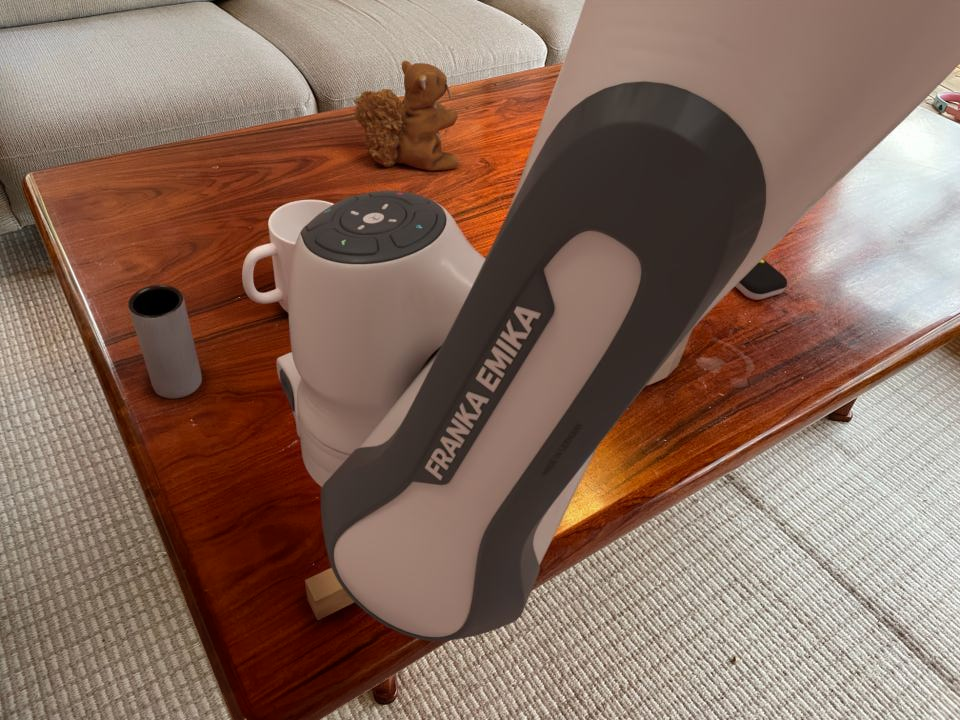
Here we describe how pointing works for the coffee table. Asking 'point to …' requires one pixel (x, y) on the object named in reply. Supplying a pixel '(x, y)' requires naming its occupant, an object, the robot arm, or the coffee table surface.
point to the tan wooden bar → (326, 594)
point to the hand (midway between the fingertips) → (371, 545)
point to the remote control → (762, 282)
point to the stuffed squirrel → (409, 120)
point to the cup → (280, 248)
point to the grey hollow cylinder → (166, 340)
